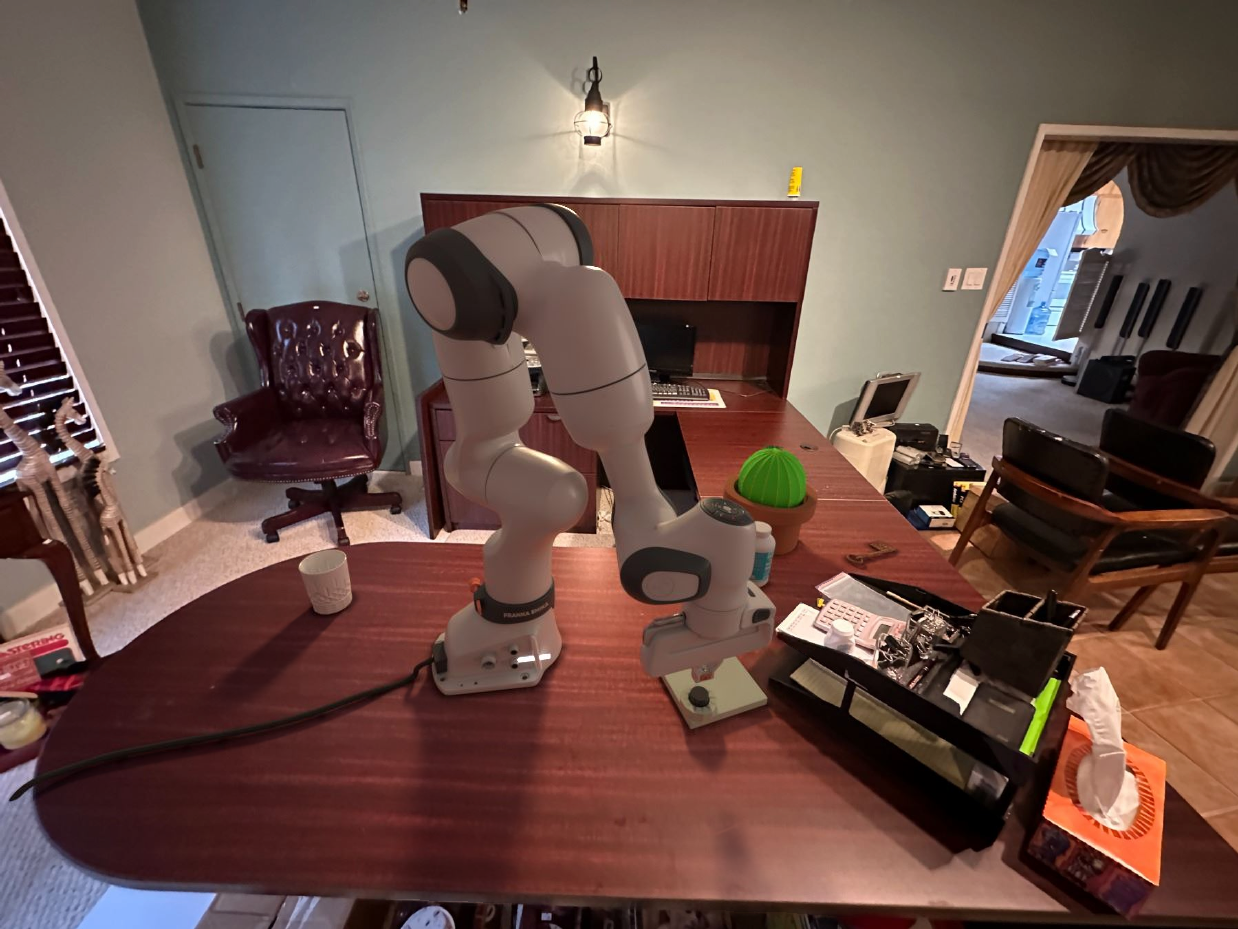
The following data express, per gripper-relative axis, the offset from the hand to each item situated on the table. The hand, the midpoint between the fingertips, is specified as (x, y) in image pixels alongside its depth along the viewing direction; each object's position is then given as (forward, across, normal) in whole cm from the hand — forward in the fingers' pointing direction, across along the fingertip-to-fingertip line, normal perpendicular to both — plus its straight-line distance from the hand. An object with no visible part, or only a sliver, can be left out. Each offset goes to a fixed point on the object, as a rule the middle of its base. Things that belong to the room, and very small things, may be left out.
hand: (702, 678), depth 75 cm
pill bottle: (+8, +28, +28) cm, 40 cm away
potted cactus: (+9, +41, +42) cm, 59 cm away
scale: (+8, +5, +4) cm, 10 cm away
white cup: (+8, -57, +45) cm, 73 cm away
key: (+9, +62, +27) cm, 68 cm away
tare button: (+5, 0, 0) cm, 5 cm away
